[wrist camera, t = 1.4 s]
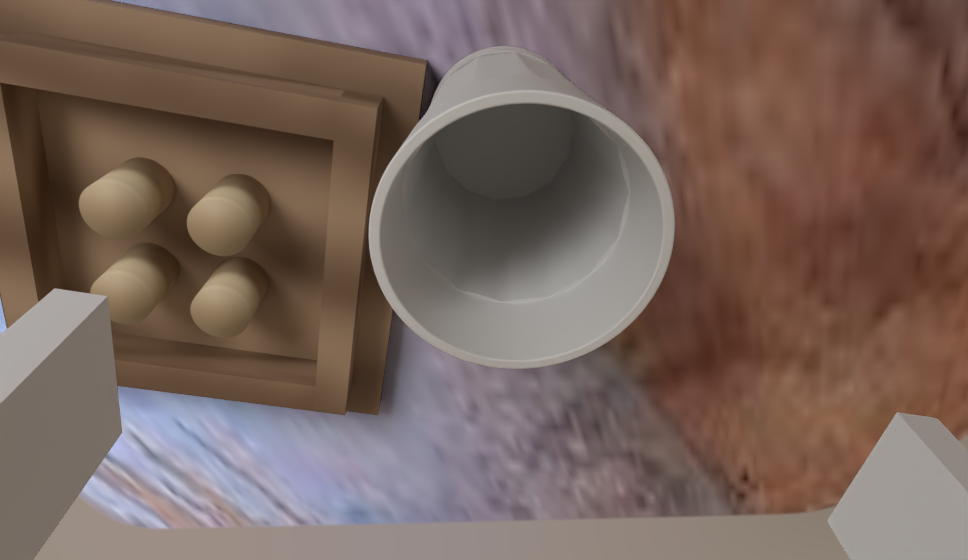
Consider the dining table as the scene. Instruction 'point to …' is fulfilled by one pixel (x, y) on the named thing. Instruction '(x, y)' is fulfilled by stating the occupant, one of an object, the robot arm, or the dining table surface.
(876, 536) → the robot arm
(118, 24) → the peg stand
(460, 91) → the cup
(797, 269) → the dining table surface
